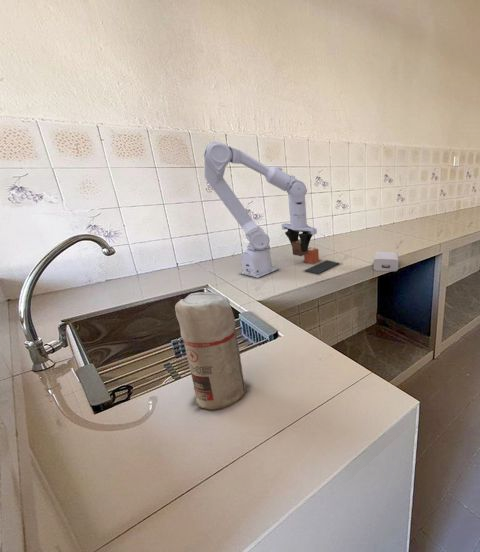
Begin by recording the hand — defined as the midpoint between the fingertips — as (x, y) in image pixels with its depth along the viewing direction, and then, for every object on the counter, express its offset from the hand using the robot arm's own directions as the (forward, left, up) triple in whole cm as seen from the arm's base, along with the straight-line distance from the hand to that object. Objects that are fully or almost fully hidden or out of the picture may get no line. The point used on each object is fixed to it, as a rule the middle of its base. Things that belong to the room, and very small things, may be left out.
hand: (300, 250), depth 125 cm
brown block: (0, 0, -1) cm, 1 cm away
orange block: (+6, 0, -6) cm, 9 cm away
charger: (+18, -27, -6) cm, 33 cm away
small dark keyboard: (+3, -8, -6) cm, 10 cm away
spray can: (-62, -34, -6) cm, 71 cm away
